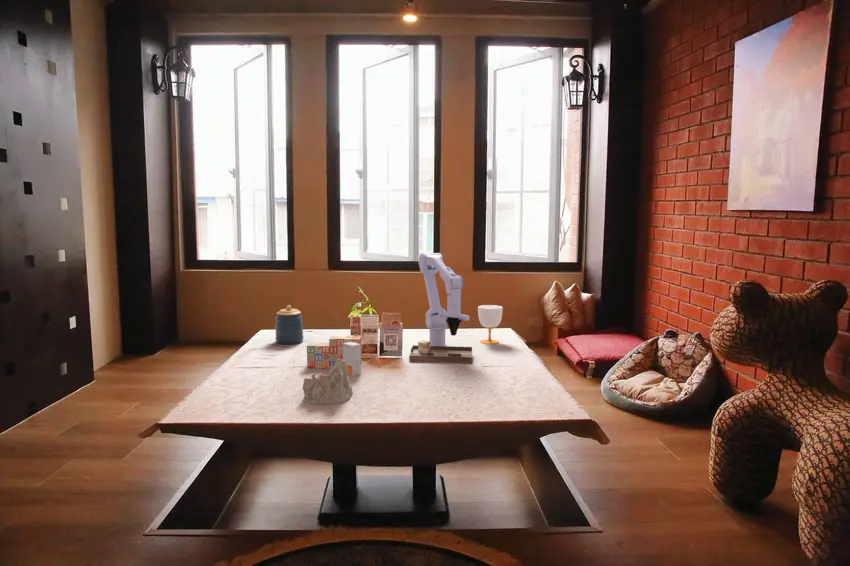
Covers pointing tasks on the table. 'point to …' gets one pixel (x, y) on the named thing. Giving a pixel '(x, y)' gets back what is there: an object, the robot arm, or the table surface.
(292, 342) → the canister
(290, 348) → the table surface
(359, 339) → the stack of blocks
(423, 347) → the maple block
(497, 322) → the cup
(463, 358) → the trap box
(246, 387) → the table surface
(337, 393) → the ceramic cottage
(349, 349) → the skincare box
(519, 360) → the table surface
